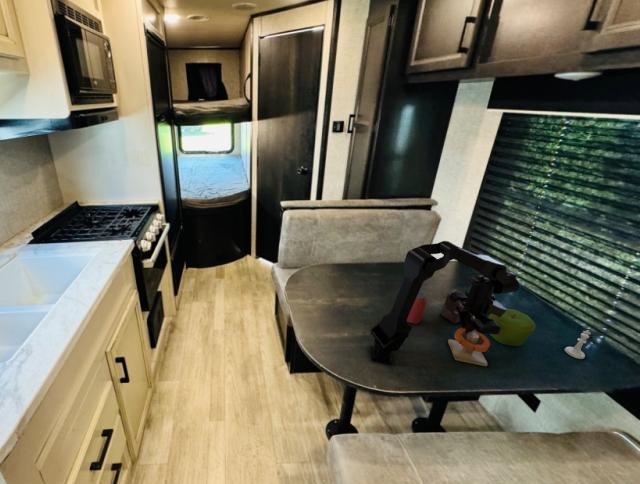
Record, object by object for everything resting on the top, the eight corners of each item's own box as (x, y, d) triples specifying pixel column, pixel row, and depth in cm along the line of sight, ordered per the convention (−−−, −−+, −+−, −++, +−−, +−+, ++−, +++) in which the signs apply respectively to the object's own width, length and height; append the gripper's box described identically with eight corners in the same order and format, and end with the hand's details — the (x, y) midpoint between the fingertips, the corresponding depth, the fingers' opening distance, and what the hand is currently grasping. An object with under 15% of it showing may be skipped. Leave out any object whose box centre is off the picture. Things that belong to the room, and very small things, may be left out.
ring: (494, 352, 100) (496, 349, 99) (464, 350, 101) (465, 347, 100) (477, 332, 108) (479, 329, 108) (449, 331, 109) (450, 327, 108)
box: (440, 315, 125) (448, 290, 120) (447, 312, 126) (456, 287, 121) (454, 324, 120) (463, 299, 115) (462, 321, 121) (471, 296, 116)
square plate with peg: (486, 366, 102) (495, 347, 98) (455, 360, 104) (462, 341, 101) (477, 346, 109) (484, 328, 106) (447, 341, 112) (454, 323, 108)
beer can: (418, 326, 119) (426, 301, 114) (400, 319, 122) (406, 294, 117) (421, 317, 124) (429, 292, 118) (403, 311, 127) (410, 286, 122)
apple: (512, 329, 117) (523, 304, 113) (534, 353, 106) (548, 327, 102) (475, 325, 119) (485, 301, 115) (493, 349, 108) (505, 323, 104)
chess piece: (586, 361, 103) (601, 338, 99) (566, 355, 106) (580, 332, 101) (582, 351, 107) (595, 328, 103) (562, 345, 109) (575, 323, 105)
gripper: (528, 313, 92) (509, 353, 98) (488, 279, 109) (474, 315, 115) (487, 311, 93) (471, 351, 99) (454, 277, 110) (442, 313, 116)
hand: (465, 331), depth 107 cm, fingers closed on ring, 2 cm apart
